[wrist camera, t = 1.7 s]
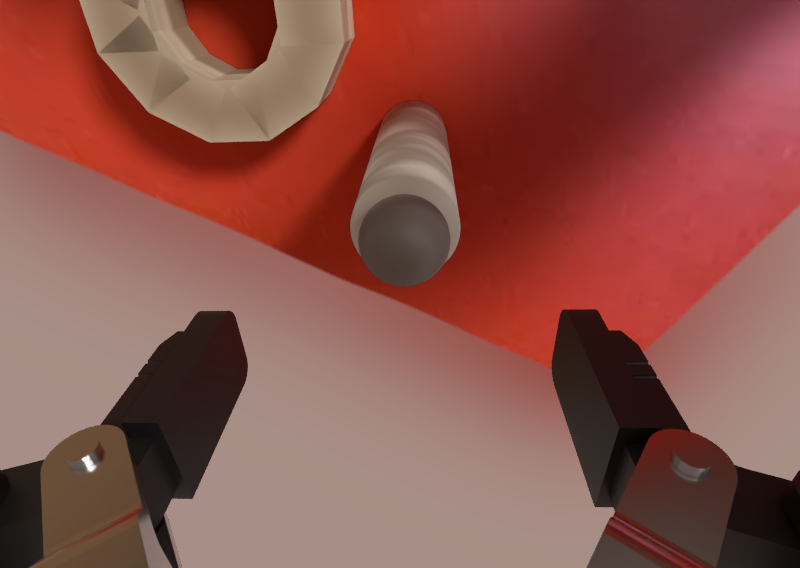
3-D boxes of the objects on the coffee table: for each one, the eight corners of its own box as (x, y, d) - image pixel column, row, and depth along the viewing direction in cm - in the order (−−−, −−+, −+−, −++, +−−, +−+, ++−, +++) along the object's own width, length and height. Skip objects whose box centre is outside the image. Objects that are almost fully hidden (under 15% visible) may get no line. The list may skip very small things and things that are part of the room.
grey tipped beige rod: (446, 99, 27) (467, 203, 14) (445, 167, 29) (463, 313, 16) (377, 101, 27) (333, 206, 14) (381, 169, 29) (346, 314, 16)
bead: (339, -154, 21) (323, -180, 18) (361, 120, 28) (352, 138, 24) (85, -137, 22) (24, -159, 19) (164, 126, 28) (129, 144, 25)
